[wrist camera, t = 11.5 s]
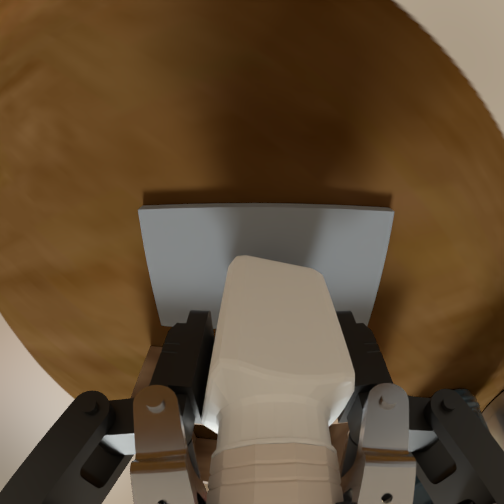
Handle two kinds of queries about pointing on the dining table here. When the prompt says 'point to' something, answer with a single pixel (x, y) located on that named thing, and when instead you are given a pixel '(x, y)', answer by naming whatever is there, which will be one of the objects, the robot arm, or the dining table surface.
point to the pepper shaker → (276, 387)
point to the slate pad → (262, 250)
